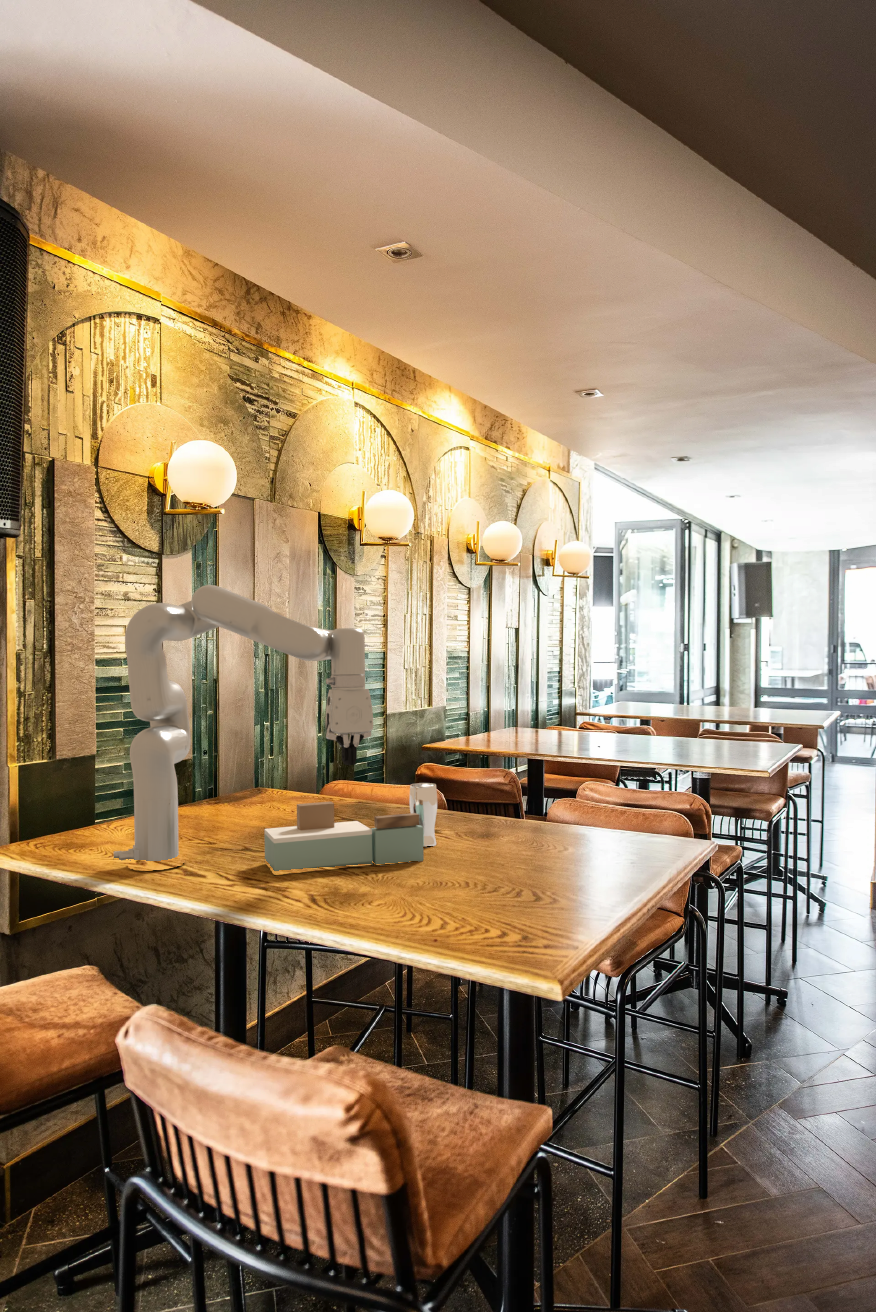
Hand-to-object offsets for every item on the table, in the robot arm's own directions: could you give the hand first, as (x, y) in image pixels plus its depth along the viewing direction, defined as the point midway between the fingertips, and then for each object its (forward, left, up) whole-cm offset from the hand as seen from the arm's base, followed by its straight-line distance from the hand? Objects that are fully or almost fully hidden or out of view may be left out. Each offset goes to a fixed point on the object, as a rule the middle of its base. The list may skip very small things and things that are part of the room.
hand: (349, 764), depth 190 cm
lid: (-6, +4, -17) cm, 19 cm away
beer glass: (+23, +13, -23) cm, 35 cm away
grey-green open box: (0, +4, -23) cm, 23 cm away
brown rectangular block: (+11, -1, -15) cm, 18 cm away
